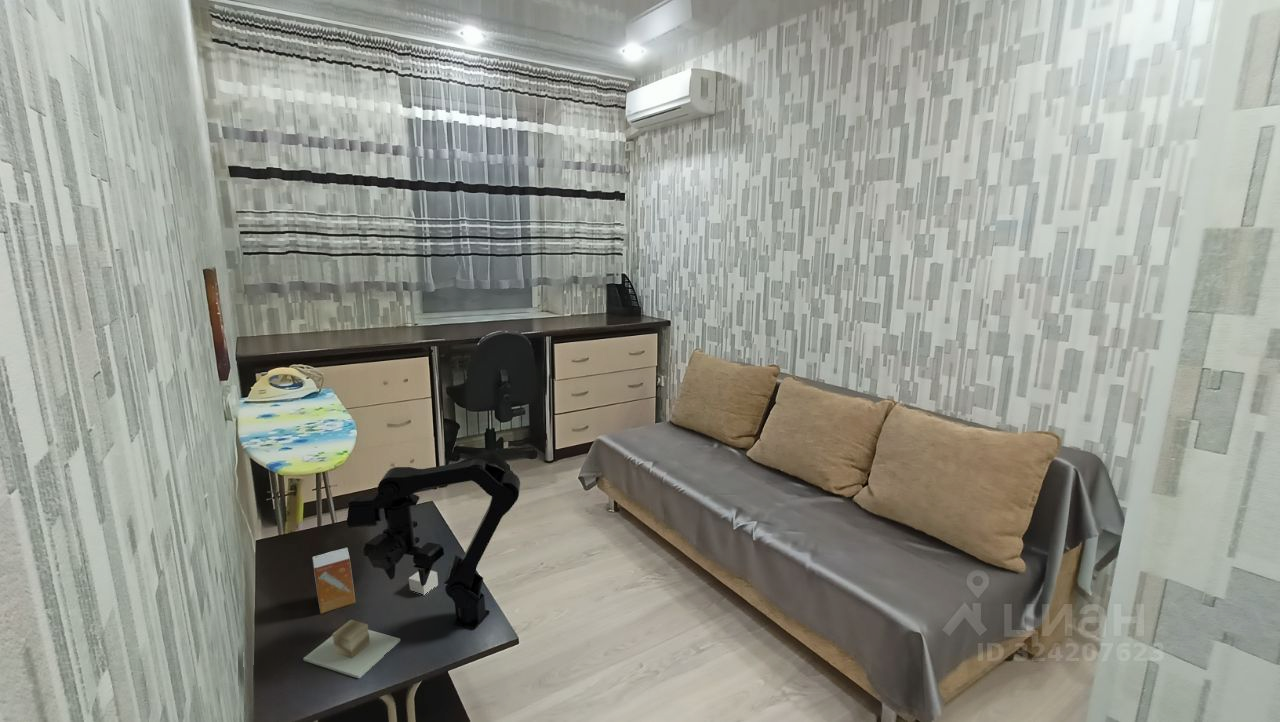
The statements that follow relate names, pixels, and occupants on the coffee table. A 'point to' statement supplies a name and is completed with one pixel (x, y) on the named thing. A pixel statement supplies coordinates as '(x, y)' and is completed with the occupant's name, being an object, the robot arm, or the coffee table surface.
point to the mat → (357, 664)
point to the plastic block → (430, 584)
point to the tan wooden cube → (351, 638)
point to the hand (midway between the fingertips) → (407, 581)
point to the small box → (333, 580)
